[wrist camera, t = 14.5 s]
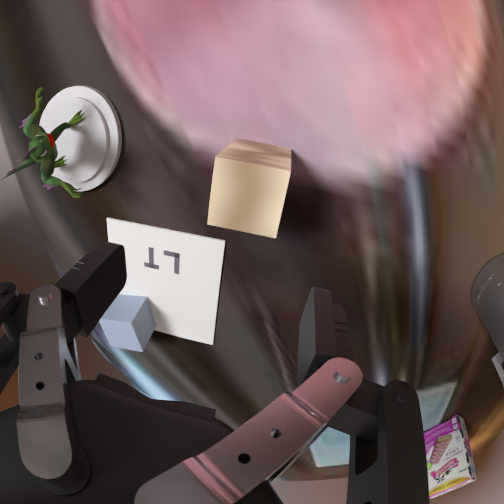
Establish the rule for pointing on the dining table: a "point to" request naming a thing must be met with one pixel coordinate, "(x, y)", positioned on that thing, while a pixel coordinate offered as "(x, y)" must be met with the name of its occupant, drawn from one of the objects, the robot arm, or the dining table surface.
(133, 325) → the slate cube
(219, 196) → the birch block
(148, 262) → the white mat
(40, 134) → the monster figurine
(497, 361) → the coffee box
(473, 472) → the candy bar box
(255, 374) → the dining table surface
